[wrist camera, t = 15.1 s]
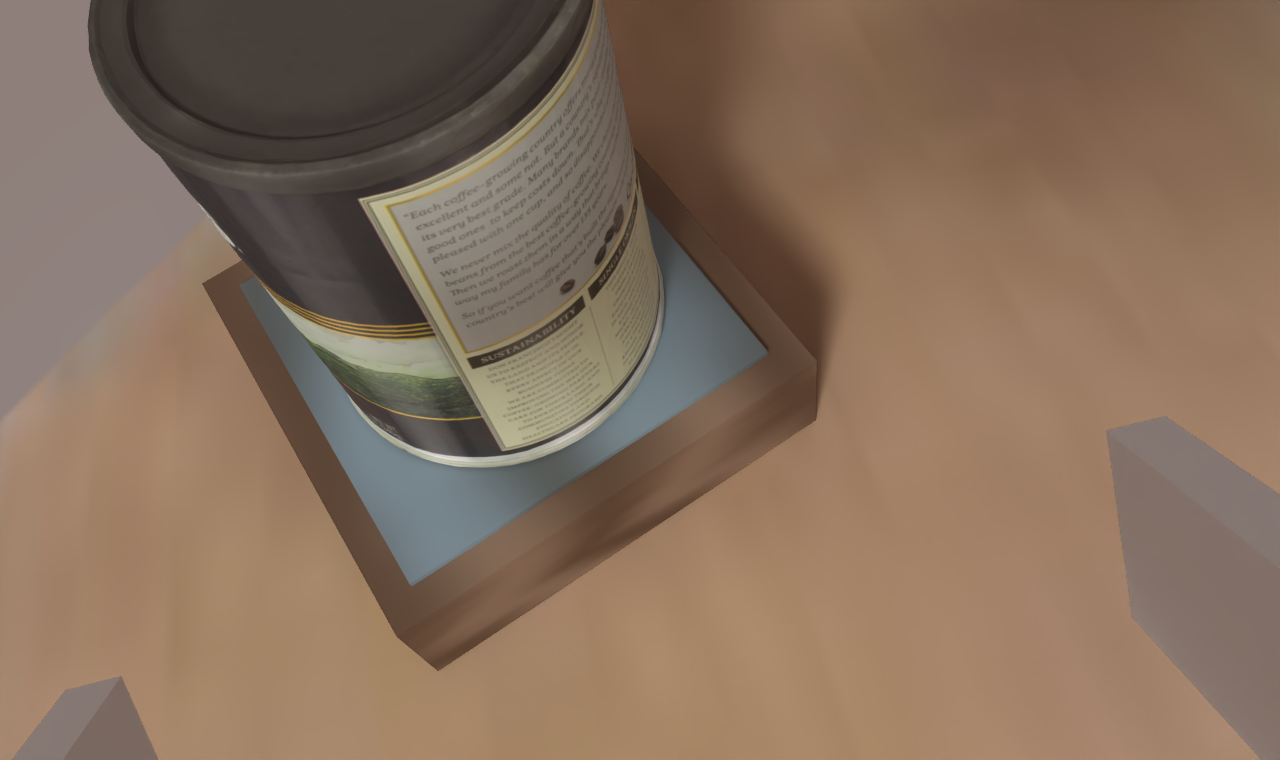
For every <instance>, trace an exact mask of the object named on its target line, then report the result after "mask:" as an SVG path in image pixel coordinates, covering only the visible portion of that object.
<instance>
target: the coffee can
mask: <svg viewBox="0 0 1280 760" xmlns="http://www.w3.org/2000/svg"><path fill="white" fill-rule="evenodd" d="M88 33H89V53H90V57H91V61H92V65H93V68H94V71H95V73H96V76H97V79H98V81H99V84H100V86H101V88H102V90H103V92H104V94H105V96H106V97H107V99H108V100H109V102H110V103H111V105H112V106H113V107H114V109H115V110H116V112H117V113H118V114H119V115H120V116H121V117H122V119H123V120H124V121H125V122H126V123H127V125H128V126H129V127H130V128H131V129H132V130H133V131H134V132H135V133H136V134H137V135H138V137H139V138H140V139H141V140H142V141H143V142H144V143H146V144H147V145H148V146H149V147H150V148H151V149H153V150H154V151H155V152H156V153H158V154H159V155H160V156H161V158H162V159H163V160H164V162H165V163H166V164H167V166H168V167H169V168H170V170H171V171H172V172H173V173H174V174H175V176H176V177H177V178H178V179H179V181H180V182H181V183H182V184H183V185H184V187H185V188H186V189H187V190H188V192H189V193H190V194H191V195H192V196H193V198H194V199H195V200H196V202H197V203H198V204H199V206H200V207H201V208H202V209H203V211H204V212H205V213H206V215H207V216H208V217H209V218H210V220H211V221H212V222H213V224H214V225H215V226H216V228H217V229H218V230H219V231H220V233H221V234H222V235H223V236H224V238H225V239H226V240H227V241H228V243H229V244H230V245H231V247H232V248H233V249H234V250H235V252H236V253H237V254H238V256H239V257H240V258H241V259H242V260H243V261H244V263H245V264H246V265H247V266H248V267H249V269H250V270H251V271H252V273H253V274H254V275H255V276H256V278H257V279H258V280H259V281H260V283H261V284H262V285H263V287H264V288H265V289H266V290H267V292H268V293H269V294H270V295H271V297H272V298H273V299H274V301H275V302H276V303H277V304H278V306H279V307H280V308H281V310H282V311H283V312H284V313H285V315H286V316H287V317H288V318H289V320H290V321H291V322H292V323H293V325H294V326H295V327H296V328H297V330H298V331H299V332H300V334H301V335H302V336H303V337H304V339H305V340H306V341H307V343H308V344H309V345H310V347H311V348H312V349H313V351H314V352H315V353H316V354H317V356H318V357H319V358H320V359H321V361H322V362H323V363H324V364H325V365H326V367H327V368H328V369H329V370H330V372H331V373H332V375H333V376H334V377H335V378H336V379H337V381H338V382H339V383H340V385H341V386H342V387H343V388H344V390H345V391H346V393H347V395H348V397H349V399H350V401H351V402H352V404H353V405H354V407H355V408H356V410H357V411H358V413H359V414H360V415H361V416H362V417H363V418H364V420H365V421H366V422H367V423H368V424H369V425H370V426H371V427H372V428H373V429H374V430H375V431H377V432H378V433H379V434H380V435H381V436H382V437H383V438H384V439H386V440H387V441H389V442H390V443H392V444H394V445H395V446H397V447H399V448H401V449H403V450H405V451H406V452H408V453H410V454H413V455H415V456H417V457H420V458H423V459H426V460H429V461H433V462H436V463H441V464H446V465H451V466H458V467H473V468H487V467H500V466H510V465H515V464H521V463H525V462H529V461H532V460H535V459H538V458H541V457H543V456H546V455H549V454H551V453H554V452H556V451H559V450H561V449H563V448H565V447H567V446H569V445H571V444H572V443H574V442H576V441H578V440H580V439H581V438H583V437H584V436H586V435H587V434H589V433H590V432H592V431H593V430H595V429H596V428H597V427H599V426H600V425H601V424H602V423H603V422H605V421H606V420H607V419H608V418H609V417H610V416H611V415H612V414H614V413H615V412H616V411H617V410H618V409H619V408H620V407H621V406H622V405H623V404H624V402H625V401H626V400H627V399H628V398H629V397H630V396H631V395H632V394H633V392H634V391H635V389H636V388H637V386H638V384H639V383H640V381H641V379H642V378H643V376H644V374H645V372H646V370H647V368H648V367H649V365H650V363H651V361H652V359H653V357H654V354H655V351H656V348H657V345H658V342H659V338H660V336H661V332H662V323H663V317H664V289H663V276H662V273H661V270H660V267H659V264H658V261H657V259H656V256H655V253H654V250H653V246H652V241H651V236H650V231H649V226H648V221H647V216H646V211H645V206H644V201H643V196H642V191H641V186H640V182H639V177H638V172H637V166H636V161H635V156H634V150H633V145H632V141H631V136H630V131H629V126H628V121H627V116H626V112H625V107H624V102H623V97H622V92H621V88H620V83H619V78H618V73H617V67H616V62H615V57H614V52H613V47H612V42H611V37H610V32H609V27H608V22H607V17H606V13H605V8H604V3H603V0H91V3H90V10H89V19H88Z"/></svg>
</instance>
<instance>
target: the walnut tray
mask: <svg viewBox="0 0 1280 760" xmlns="http://www.w3.org/2000/svg"><path fill="white" fill-rule="evenodd" d="M633 150H634V156H635V161H636V166H637V172H638V177H639V182H640V186H641V191H642V196H643V201H644V206H645V211H646V216H647V221H648V226H649V231H650V236H651V241H652V246H653V250H654V253H655V256H656V259H657V261H658V264H659V267H660V270H661V273H662V276H663V289H664V317H663V323H662V332H661V336H660V338H659V342H658V345H657V348H656V351H655V354H654V357H653V359H652V361H651V363H650V365H649V367H648V368H647V370H646V372H645V374H644V376H643V378H642V379H641V381H640V383H639V384H638V386H637V388H636V389H635V391H634V392H633V394H632V395H631V396H630V397H629V398H628V399H627V400H626V401H625V402H624V404H623V405H622V406H621V407H620V408H619V409H618V410H617V411H616V412H615V413H614V414H612V415H611V416H610V417H609V418H608V419H607V420H606V421H605V422H603V423H602V424H601V425H600V426H599V427H597V428H596V429H595V430H593V431H592V432H590V433H589V434H587V435H586V436H584V437H583V438H581V439H580V440H578V441H576V442H574V443H572V444H571V445H569V446H567V447H565V448H563V449H561V450H559V451H556V452H554V453H551V454H549V455H546V456H543V457H541V458H538V459H535V460H532V461H529V462H525V463H521V464H515V465H510V466H500V467H487V468H473V467H458V466H451V465H446V464H441V463H436V462H433V461H429V460H426V459H423V458H420V457H417V456H415V455H413V454H410V453H408V452H406V451H405V450H403V449H401V448H399V447H397V446H395V445H394V444H392V443H390V442H389V441H387V440H386V439H384V438H383V437H382V436H381V435H380V434H379V433H378V432H377V431H375V430H374V429H373V428H372V427H371V426H370V425H369V424H368V423H367V422H366V421H365V420H364V418H363V417H362V416H361V415H360V414H359V413H358V411H357V410H356V408H355V407H354V405H353V404H352V402H351V401H350V399H349V397H348V395H347V393H346V391H345V390H344V388H343V387H342V386H341V385H340V383H339V382H338V381H337V379H336V378H335V377H334V376H333V375H332V373H331V372H330V370H329V369H328V368H327V367H326V365H325V364H324V363H323V362H322V361H321V359H320V358H319V357H318V356H317V354H316V353H315V352H314V351H313V349H312V348H311V347H310V345H309V344H308V343H307V341H306V340H305V339H304V337H303V336H302V335H301V334H300V332H299V331H298V330H297V328H296V327H295V326H294V325H293V323H292V322H291V321H290V320H289V318H288V317H287V316H286V315H285V313H284V312H283V311H282V310H281V308H280V307H279V306H278V304H277V303H276V302H275V301H274V299H273V298H272V297H271V295H270V294H269V293H268V292H267V290H266V289H265V288H264V287H263V285H262V284H261V283H260V281H259V280H258V279H257V278H256V276H255V275H254V274H253V273H252V271H251V270H250V269H249V267H248V266H247V265H246V264H245V263H244V261H243V260H242V261H240V262H238V263H237V264H235V265H233V266H231V267H230V268H228V269H226V270H225V271H223V272H221V273H219V274H218V275H216V276H214V277H213V278H211V279H209V280H207V281H206V282H204V283H202V284H203V286H204V288H205V290H206V292H207V293H208V295H209V297H210V299H211V301H212V302H213V304H214V306H215V308H216V310H217V312H218V313H219V315H220V317H221V319H222V321H223V322H224V324H225V326H226V328H227V330H228V331H229V333H230V335H231V337H232V339H233V341H234V342H235V344H236V346H237V348H238V350H239V351H240V353H241V355H242V357H243V359H244V360H245V362H246V364H247V366H248V368H249V370H250V371H251V373H252V375H253V377H254V379H255V380H256V382H257V384H258V386H259V388H260V390H261V391H262V393H263V395H264V397H265V399H266V400H267V402H268V404H269V406H270V408H271V409H272V411H273V413H274V415H275V417H276V419H277V420H278V422H279V424H280V426H281V428H282V429H283V431H284V433H285V435H286V437H287V438H288V440H289V442H290V444H291V446H292V448H293V449H294V451H295V453H296V455H297V457H298V458H299V460H300V462H301V464H302V466H303V467H304V469H305V471H306V473H307V475H308V477H309V478H310V480H311V482H312V484H313V486H314V487H315V489H316V491H317V493H318V495H319V497H320V498H321V500H322V502H323V504H324V506H325V507H326V509H327V511H328V513H329V515H330V516H331V518H332V520H333V522H334V524H335V526H336V527H337V529H338V531H339V533H340V535H341V536H342V538H343V540H344V542H345V544H346V545H347V547H348V549H349V551H350V553H351V555H352V556H353V558H354V560H355V562H356V564H357V565H358V567H359V569H360V571H361V573H362V574H363V576H364V578H365V580H366V582H367V584H368V585H369V587H370V589H371V591H372V593H373V594H374V596H375V598H376V600H377V602H378V604H379V605H380V607H381V609H382V611H383V613H384V614H385V616H386V618H387V620H388V622H389V623H390V625H391V627H392V629H393V631H394V633H395V634H396V636H397V637H398V638H399V639H400V640H401V641H403V642H404V643H405V644H406V645H407V646H409V647H410V648H411V649H412V650H413V651H415V652H416V653H417V654H418V655H419V656H421V657H422V658H423V659H424V660H425V661H427V662H428V663H429V664H430V665H431V666H433V667H434V668H435V669H436V670H437V671H439V670H440V669H442V668H443V667H445V666H446V665H448V664H449V663H451V662H452V661H454V660H455V659H457V658H458V657H460V656H461V655H463V654H464V653H466V652H467V651H469V650H470V649H472V648H473V647H475V646H476V645H478V644H479V643H481V642H482V641H484V640H485V639H487V638H488V637H490V636H491V635H493V634H494V633H496V632H497V631H499V630H500V629H502V628H503V627H505V626H506V625H508V624H509V623H511V622H512V621H514V620H515V619H517V618H518V617H520V616H522V615H523V614H525V613H526V612H528V611H529V610H531V609H532V608H534V607H535V606H537V605H538V604H540V603H541V602H543V601H544V600H546V599H547V598H549V597H550V596H552V595H553V594H555V593H556V592H558V591H559V590H561V589H562V588H564V587H565V586H567V585H568V584H570V583H571V582H573V581H574V580H576V579H577V578H579V577H580V576H582V575H583V574H585V573H586V572H588V571H589V570H591V569H592V568H594V567H595V566H597V565H598V564H600V563H601V562H603V561H604V560H606V559H607V558H609V557H610V556H612V555H613V554H615V553H616V552H618V551H619V550H621V549H622V548H624V547H625V546H627V545H628V544H630V543H631V542H633V541H634V540H636V539H637V538H639V537H640V536H642V535H643V534H645V533H646V532H648V531H649V530H651V529H652V528H654V527H655V526H657V525H658V524H660V523H661V522H663V521H664V520H666V519H667V518H669V517H670V516H672V515H673V514H675V513H676V512H678V511H679V510H681V509H682V508H684V507H685V506H687V505H688V504H690V503H691V502H693V501H694V500H696V499H697V498H699V497H700V496H702V495H704V494H705V493H707V492H708V491H710V490H711V489H713V488H714V487H716V486H717V485H719V484H720V483H722V482H723V481H725V480H726V479H728V478H729V477H731V476H732V475H734V474H735V473H737V472H738V471H740V470H741V469H743V468H744V467H746V466H747V465H749V464H750V463H752V462H753V461H755V460H756V459H758V458H759V457H761V456H762V455H764V454H765V453H767V452H768V451H770V450H771V449H773V448H774V447H776V446H777V445H779V444H780V443H782V442H783V441H785V440H786V439H788V438H789V437H791V436H792V435H794V434H795V433H797V432H798V431H800V430H801V429H803V428H804V427H806V426H807V425H809V424H810V423H812V422H813V421H815V420H816V387H817V361H816V360H815V358H814V357H813V356H812V355H811V354H810V353H809V351H808V350H807V349H806V348H805V347H804V346H803V344H802V343H801V342H800V341H799V340H798V339H797V337H796V336H795V335H794V334H793V333H792V332H791V330H790V329H789V328H788V327H787V326H786V325H785V323H784V322H783V321H782V320H781V319H780V318H779V316H778V315H777V314H776V313H775V312H774V310H773V309H772V308H771V307H770V306H769V305H768V303H767V302H766V301H765V300H764V299H763V298H762V296H761V295H760V294H759V293H758V292H757V291H756V289H755V288H754V287H753V286H752V285H751V284H750V282H749V281H748V280H747V279H746V278H745V277H744V275H743V274H742V273H741V272H740V271H739V270H738V268H737V267H736V266H735V265H734V264H733V263H732V261H731V260H730V259H729V258H728V257H727V256H726V254H725V253H724V252H723V251H722V250H721V249H720V247H719V246H718V245H717V244H716V243H715V242H714V240H713V239H712V238H711V237H710V236H709V235H708V233H707V232H706V231H705V230H704V229H703V228H702V226H701V225H700V224H699V223H698V222H697V221H696V219H695V218H694V217H693V216H692V215H691V214H690V212H689V211H688V210H687V209H686V208H685V207H684V205H683V204H682V203H681V202H680V201H679V200H678V198H677V197H676V196H675V195H674V194H673V193H672V191H671V190H670V189H669V188H668V187H667V186H666V184H665V183H664V182H663V181H662V180H661V178H660V177H659V176H658V175H657V174H656V173H655V171H654V170H653V169H652V168H651V167H650V166H649V164H648V163H647V162H646V161H645V160H644V159H643V157H642V156H641V155H640V154H639V153H638V152H637V150H636V149H635V148H634V147H633Z"/></svg>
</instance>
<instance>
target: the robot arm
mask: <svg viewBox="0 0 1280 760" xmlns="http://www.w3.org/2000/svg"><path fill="white" fill-rule="evenodd" d="M1106 432H1107V440H1108V447H1109V454H1110V461H1111V469H1112V476H1113V483H1114V490H1115V498H1116V505H1117V512H1118V519H1119V527H1120V534H1121V541H1122V548H1123V555H1124V563H1125V570H1126V577H1127V584H1128V592H1129V599H1130V606H1131V613H1132V618H1133V619H1134V620H1135V621H1136V622H1137V624H1138V625H1139V626H1140V627H1141V628H1142V629H1143V630H1144V631H1145V632H1146V633H1147V635H1148V636H1149V637H1150V638H1151V639H1152V640H1153V641H1154V642H1155V643H1156V644H1157V646H1158V647H1159V648H1160V649H1161V650H1162V651H1163V652H1164V653H1165V654H1166V655H1167V657H1168V658H1169V659H1170V660H1171V661H1172V662H1173V663H1174V664H1175V665H1176V666H1177V668H1178V669H1179V670H1180V671H1181V672H1182V673H1183V674H1184V675H1185V676H1186V677H1187V679H1188V680H1189V681H1190V682H1191V683H1192V684H1193V685H1194V686H1195V687H1196V688H1197V689H1198V691H1199V692H1200V693H1201V694H1202V695H1203V696H1204V697H1205V698H1206V699H1207V700H1208V702H1209V703H1210V704H1211V705H1212V706H1213V707H1214V708H1215V709H1216V710H1217V711H1218V713H1219V714H1220V715H1221V716H1222V717H1223V718H1224V719H1225V720H1226V721H1227V722H1228V724H1229V725H1230V726H1231V727H1232V728H1233V729H1234V730H1235V731H1236V732H1237V733H1238V735H1239V736H1240V737H1241V738H1242V739H1243V740H1244V741H1245V742H1246V743H1247V744H1248V746H1249V747H1250V748H1251V749H1252V750H1253V751H1254V752H1255V753H1256V754H1257V755H1258V757H1259V758H1260V759H1261V760H1280V494H1278V493H1277V492H1275V491H1274V490H1272V489H1271V488H1269V487H1268V486H1267V485H1265V484H1264V483H1262V482H1261V481H1259V480H1258V479H1256V478H1255V477H1253V476H1252V475H1251V474H1249V473H1248V472H1246V471H1245V470H1243V469H1242V468H1240V467H1239V466H1238V465H1236V464H1235V463H1233V462H1232V461H1230V460H1229V459H1227V458H1226V457H1224V456H1223V455H1222V454H1220V453H1219V452H1217V451H1216V450H1214V449H1213V448H1211V447H1210V446H1208V445H1207V444H1206V443H1204V442H1203V441H1201V440H1200V439H1198V438H1197V437H1195V436H1194V435H1192V434H1191V433H1190V432H1188V431H1187V430H1185V429H1184V428H1182V427H1181V426H1179V425H1178V424H1176V423H1175V422H1174V421H1172V420H1171V419H1169V418H1168V417H1166V416H1163V417H1159V418H1155V419H1151V420H1147V421H1143V422H1139V423H1135V424H1131V425H1127V426H1123V427H1119V428H1115V429H1111V430H1107V431H1106ZM12 760H158V758H157V755H156V753H155V751H154V749H153V746H152V744H151V742H150V740H149V737H148V735H147V733H146V731H145V728H144V726H143V724H142V722H141V719H140V717H139V715H138V713H137V710H136V708H135V706H134V704H133V701H132V699H131V697H130V695H129V692H128V690H127V688H126V686H125V683H124V681H123V679H122V676H120V677H116V678H112V679H108V680H104V681H100V682H96V683H92V684H88V685H84V686H80V687H76V688H72V689H68V690H65V692H64V693H63V694H62V695H61V697H60V698H59V699H58V701H57V702H56V703H55V704H54V706H53V707H52V708H51V710H50V711H49V712H48V714H47V715H46V716H45V717H44V719H43V720H42V721H41V723H40V724H39V725H38V726H37V728H36V729H35V730H34V732H33V733H32V734H31V736H30V737H29V738H28V739H27V741H26V742H25V743H24V745H23V746H22V747H21V748H20V750H19V751H18V752H17V754H16V755H15V756H14V758H13V759H12Z"/></svg>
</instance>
